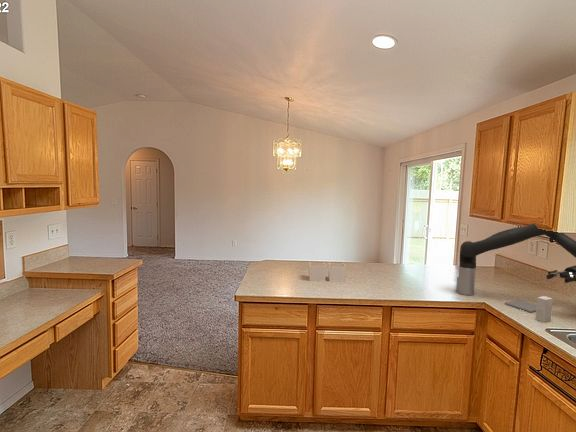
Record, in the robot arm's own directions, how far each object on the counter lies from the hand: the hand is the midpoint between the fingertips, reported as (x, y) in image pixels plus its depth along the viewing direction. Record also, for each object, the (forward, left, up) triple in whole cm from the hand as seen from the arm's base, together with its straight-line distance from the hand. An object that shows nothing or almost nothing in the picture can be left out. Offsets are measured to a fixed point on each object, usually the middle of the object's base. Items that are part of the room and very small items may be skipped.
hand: (556, 279), depth 169 cm
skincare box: (0, -7, -21) cm, 23 cm away
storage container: (-102, -75, -22) cm, 129 cm away
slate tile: (-15, +4, -21) cm, 26 cm away
